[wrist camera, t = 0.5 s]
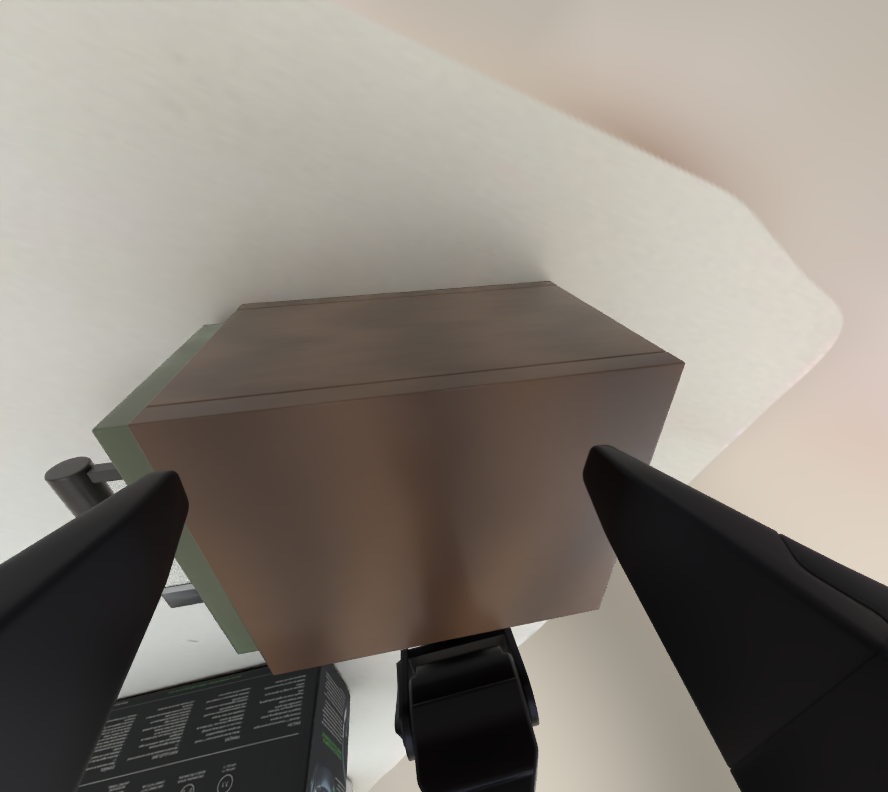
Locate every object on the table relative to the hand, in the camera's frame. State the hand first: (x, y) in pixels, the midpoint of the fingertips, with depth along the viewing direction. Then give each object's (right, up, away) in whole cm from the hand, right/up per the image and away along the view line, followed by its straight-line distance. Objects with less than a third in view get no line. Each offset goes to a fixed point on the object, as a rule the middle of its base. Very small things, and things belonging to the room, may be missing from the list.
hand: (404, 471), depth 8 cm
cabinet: (-1, +1, +16) cm, 16 cm away
